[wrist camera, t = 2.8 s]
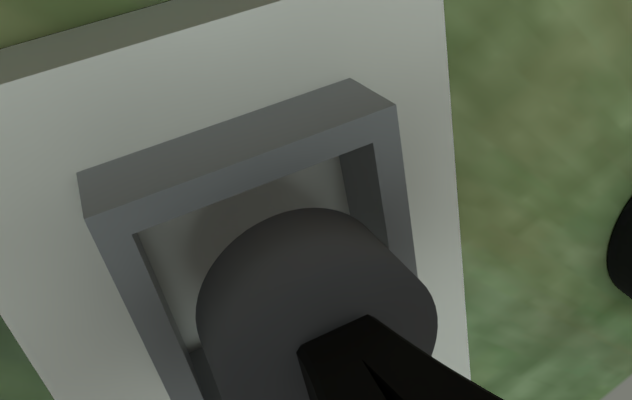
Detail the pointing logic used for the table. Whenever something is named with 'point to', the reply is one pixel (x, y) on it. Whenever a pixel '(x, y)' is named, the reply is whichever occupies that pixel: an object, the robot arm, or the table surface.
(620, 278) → the travel mug
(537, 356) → the table surface
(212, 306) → the grey button
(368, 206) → the button panel
